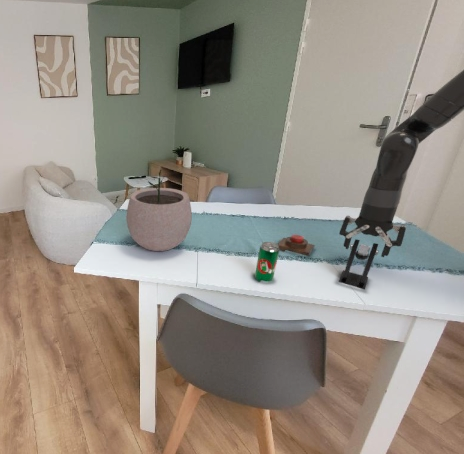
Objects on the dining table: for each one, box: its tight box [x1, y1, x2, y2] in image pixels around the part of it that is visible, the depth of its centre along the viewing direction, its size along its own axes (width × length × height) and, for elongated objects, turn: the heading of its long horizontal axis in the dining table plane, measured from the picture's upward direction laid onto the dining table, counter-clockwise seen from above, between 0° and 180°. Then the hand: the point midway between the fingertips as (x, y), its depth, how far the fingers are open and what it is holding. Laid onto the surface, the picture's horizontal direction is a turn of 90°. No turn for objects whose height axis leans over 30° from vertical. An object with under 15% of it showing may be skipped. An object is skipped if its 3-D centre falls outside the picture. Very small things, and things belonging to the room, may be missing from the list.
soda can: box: [254, 241, 280, 282], centre depth 88 cm, size 5×5×12 cm
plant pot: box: [126, 169, 193, 252], centre depth 108 cm, size 24×24×30 cm
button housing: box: [276, 235, 315, 257], centre depth 105 cm, size 10×8×4 cm
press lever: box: [354, 243, 372, 261], centre depth 86 cm, size 14×3×3 cm, turn 136°
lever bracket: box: [338, 239, 379, 290], centre depth 84 cm, size 8×6×13 cm
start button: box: [290, 234, 305, 243], centre depth 104 cm, size 4×4×2 cm
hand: (364, 252), depth 90 cm, fingers open, 8 cm apart
